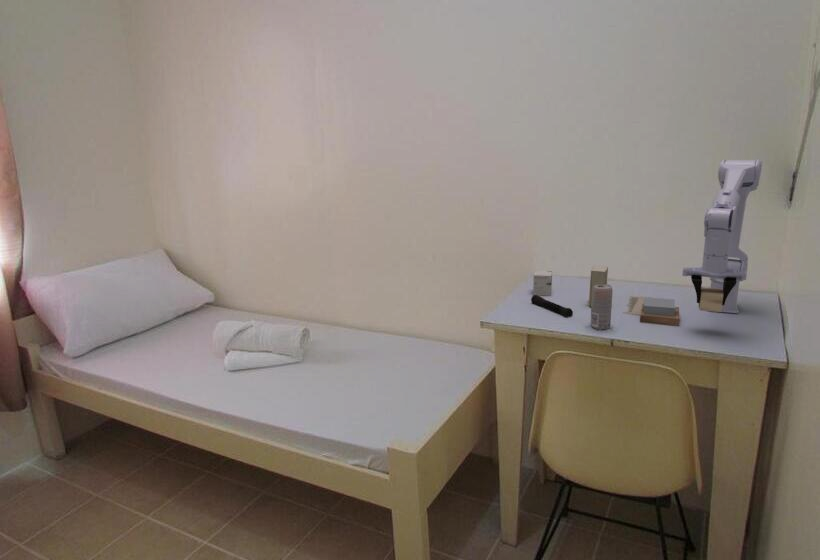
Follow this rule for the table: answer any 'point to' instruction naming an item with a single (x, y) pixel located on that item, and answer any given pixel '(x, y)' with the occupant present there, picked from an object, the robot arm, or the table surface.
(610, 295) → the energy drink
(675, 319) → the tower base slab
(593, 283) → the skincare box
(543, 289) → the skincare box
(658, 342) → the table surface
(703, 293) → the beech cube
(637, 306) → the grooming comb
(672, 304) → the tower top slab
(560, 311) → the flashlight
